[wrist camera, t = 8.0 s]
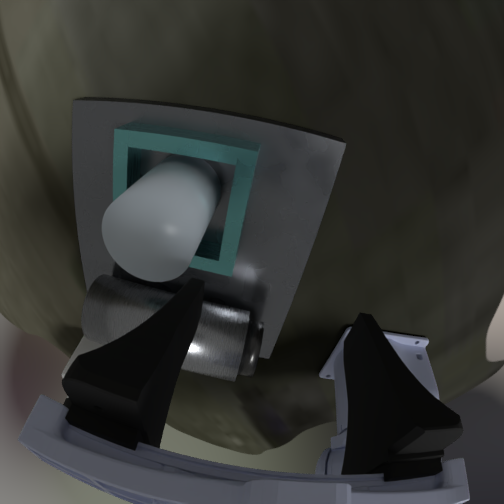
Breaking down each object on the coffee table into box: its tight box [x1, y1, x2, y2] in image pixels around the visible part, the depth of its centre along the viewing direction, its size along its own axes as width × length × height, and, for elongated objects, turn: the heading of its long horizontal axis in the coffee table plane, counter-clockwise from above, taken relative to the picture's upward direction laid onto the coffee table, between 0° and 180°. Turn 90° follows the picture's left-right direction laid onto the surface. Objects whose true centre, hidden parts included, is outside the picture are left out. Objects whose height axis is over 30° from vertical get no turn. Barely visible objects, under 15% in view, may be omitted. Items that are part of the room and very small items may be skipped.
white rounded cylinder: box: [102, 154, 221, 282], centre depth 16 cm, size 5×5×6 cm
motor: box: [72, 97, 346, 382], centre depth 20 cm, size 18×20×7 cm
